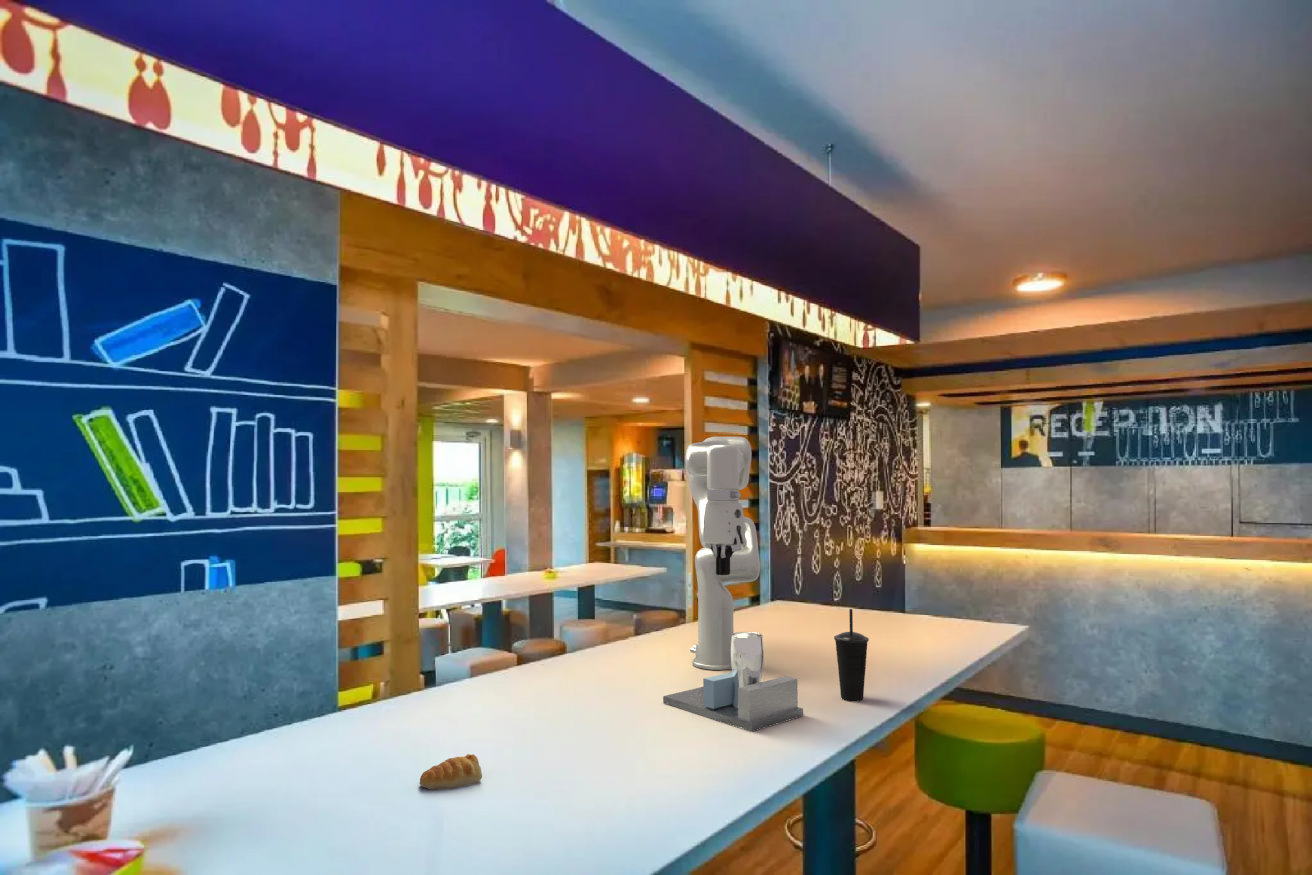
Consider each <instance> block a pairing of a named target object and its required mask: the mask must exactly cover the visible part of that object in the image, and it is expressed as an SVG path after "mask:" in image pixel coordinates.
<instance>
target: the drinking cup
mask: <svg viewBox="0 0 1312 875" xmlns="http://www.w3.org/2000/svg"><path fill="white" fill-rule="evenodd" d="M848 613H849V631H843V632H841V633H839V634H837V635H834V636H833V640H834V641H835V650H836V660H837V669H838V680H839V690H840V699H841V698H842V699H841V700H843V699H844V700H843V701H846V700H847V701H846V702H852V701H858V702H862V701H863V700H864V695H865V693H864V692H865V691H864V690H865V679H866V678H865V677H866V664H867V653H868V652H867V651H868V643H869V640H870V638H869V637H868V636H865V635H863V634H861V633H859V632H856V631H853V630H854V628H853V627H854V624H853V622H854V621H853V617H854V616H853V615H854V614H853V608H849V612H848Z"/></svg>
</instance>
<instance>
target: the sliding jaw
mask: <svg viewBox="0 0 1312 875" xmlns="http://www.w3.org/2000/svg"><path fill="white" fill-rule="evenodd" d="M702 684H703V686H702V687H703V706H706V707H709V708H713V709H715V708H719V707H722V706H726V705H730V704H733V701H734V694H735V685H734V678H733V673H732V671H731V672H727V673H721V674H717V675H713V676H709V677H705V678H703V682H702Z"/></svg>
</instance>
